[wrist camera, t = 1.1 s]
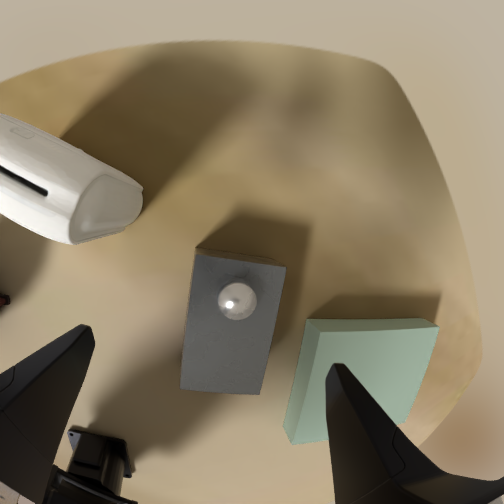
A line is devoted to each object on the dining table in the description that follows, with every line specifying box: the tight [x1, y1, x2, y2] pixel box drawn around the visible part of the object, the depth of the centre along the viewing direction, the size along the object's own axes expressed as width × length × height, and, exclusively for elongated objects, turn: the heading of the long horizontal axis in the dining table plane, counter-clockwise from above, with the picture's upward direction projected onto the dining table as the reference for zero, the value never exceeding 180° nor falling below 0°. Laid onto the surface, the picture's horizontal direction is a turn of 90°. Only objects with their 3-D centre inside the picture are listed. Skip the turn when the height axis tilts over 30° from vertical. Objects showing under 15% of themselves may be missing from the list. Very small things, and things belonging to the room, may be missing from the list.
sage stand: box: [283, 318, 440, 445], centre depth 25 cm, size 12×14×3 cm
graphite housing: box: [180, 247, 287, 395], centre depth 21 cm, size 10×6×5 cm, turn 169°
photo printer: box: [0, 113, 143, 245], centre depth 14 cm, size 10×4×12 cm, turn 62°
